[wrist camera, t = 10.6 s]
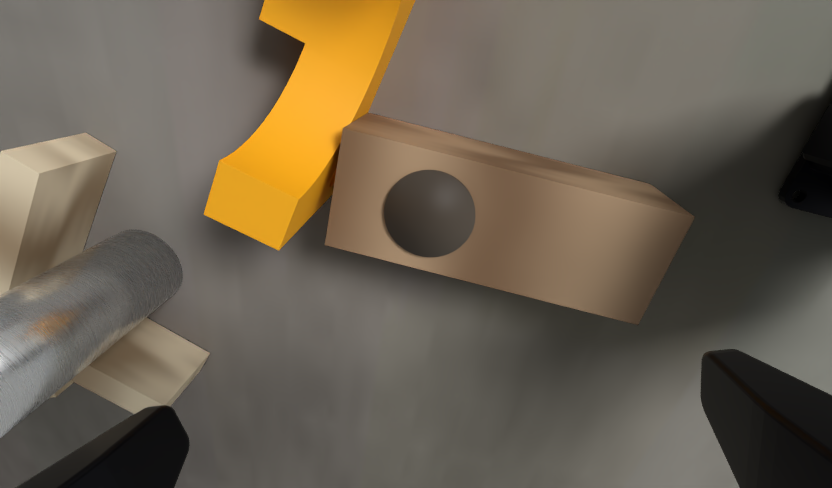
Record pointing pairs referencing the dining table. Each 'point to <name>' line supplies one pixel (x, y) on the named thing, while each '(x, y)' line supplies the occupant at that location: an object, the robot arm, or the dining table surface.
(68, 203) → the v block
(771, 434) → the robot arm
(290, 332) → the dining table surface
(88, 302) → the axle
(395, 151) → the beam
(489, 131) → the dining table surface
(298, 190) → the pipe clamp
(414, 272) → the dining table surface
